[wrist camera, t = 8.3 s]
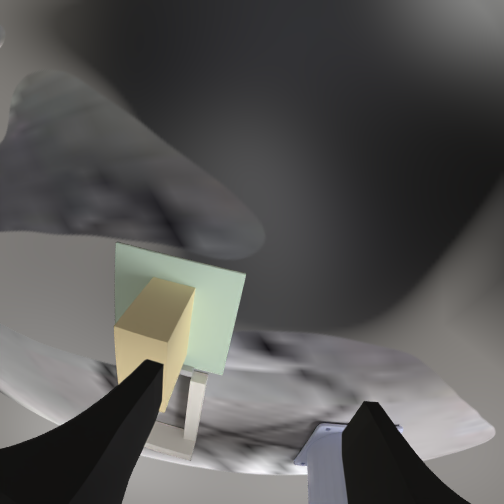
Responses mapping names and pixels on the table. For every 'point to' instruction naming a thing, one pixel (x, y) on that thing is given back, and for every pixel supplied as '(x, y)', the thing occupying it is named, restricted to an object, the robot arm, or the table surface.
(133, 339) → the tan rectangular block
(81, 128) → the table surface
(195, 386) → the dispenser
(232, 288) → the mat
